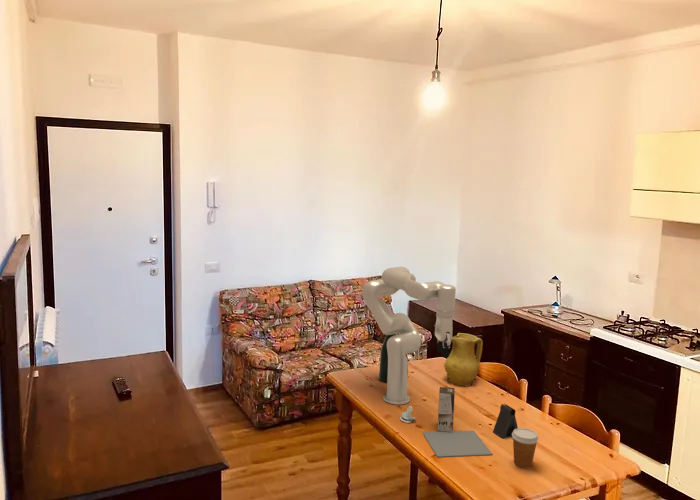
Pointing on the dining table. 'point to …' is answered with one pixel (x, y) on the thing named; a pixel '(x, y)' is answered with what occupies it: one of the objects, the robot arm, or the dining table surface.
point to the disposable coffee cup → (524, 446)
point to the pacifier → (407, 415)
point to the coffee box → (446, 409)
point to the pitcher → (463, 359)
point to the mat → (456, 444)
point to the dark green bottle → (384, 360)
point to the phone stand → (505, 422)
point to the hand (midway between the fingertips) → (442, 353)
